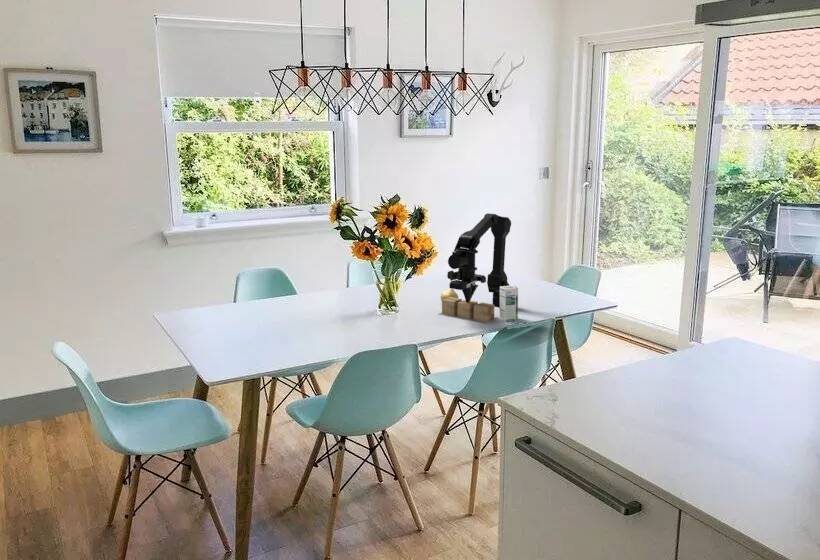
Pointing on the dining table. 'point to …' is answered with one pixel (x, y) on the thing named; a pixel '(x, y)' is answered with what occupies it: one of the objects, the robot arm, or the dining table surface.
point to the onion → (449, 294)
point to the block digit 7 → (484, 312)
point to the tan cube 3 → (450, 306)
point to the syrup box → (509, 303)
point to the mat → (466, 318)
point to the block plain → (466, 309)
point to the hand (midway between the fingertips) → (467, 302)
